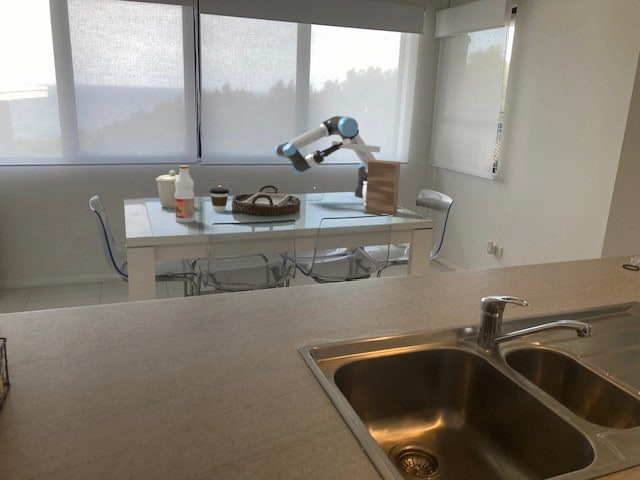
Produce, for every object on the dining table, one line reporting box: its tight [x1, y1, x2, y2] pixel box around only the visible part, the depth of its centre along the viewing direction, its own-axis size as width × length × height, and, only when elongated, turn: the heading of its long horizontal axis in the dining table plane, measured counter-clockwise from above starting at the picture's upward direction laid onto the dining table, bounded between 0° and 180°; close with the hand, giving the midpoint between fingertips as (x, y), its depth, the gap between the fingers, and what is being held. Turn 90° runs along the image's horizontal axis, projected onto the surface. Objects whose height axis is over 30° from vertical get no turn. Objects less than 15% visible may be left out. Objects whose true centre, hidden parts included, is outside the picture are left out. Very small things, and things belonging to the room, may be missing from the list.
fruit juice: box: [175, 164, 196, 224], centre depth 267 cm, size 9×9×28 cm
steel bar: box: [331, 140, 381, 153], centre depth 307 cm, size 4×28×3 cm, turn 70°
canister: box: [155, 169, 179, 210], centre depth 301 cm, size 18×18×21 cm
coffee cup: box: [208, 187, 230, 213], centre depth 298 cm, size 11×11×12 cm
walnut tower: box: [363, 159, 402, 216], centre depth 307 cm, size 13×17×30 cm
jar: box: [362, 181, 367, 207], centre depth 331 cm, size 11×10×15 cm
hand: (348, 140), depth 308 cm, fingers closed on steel bar, 4 cm apart
